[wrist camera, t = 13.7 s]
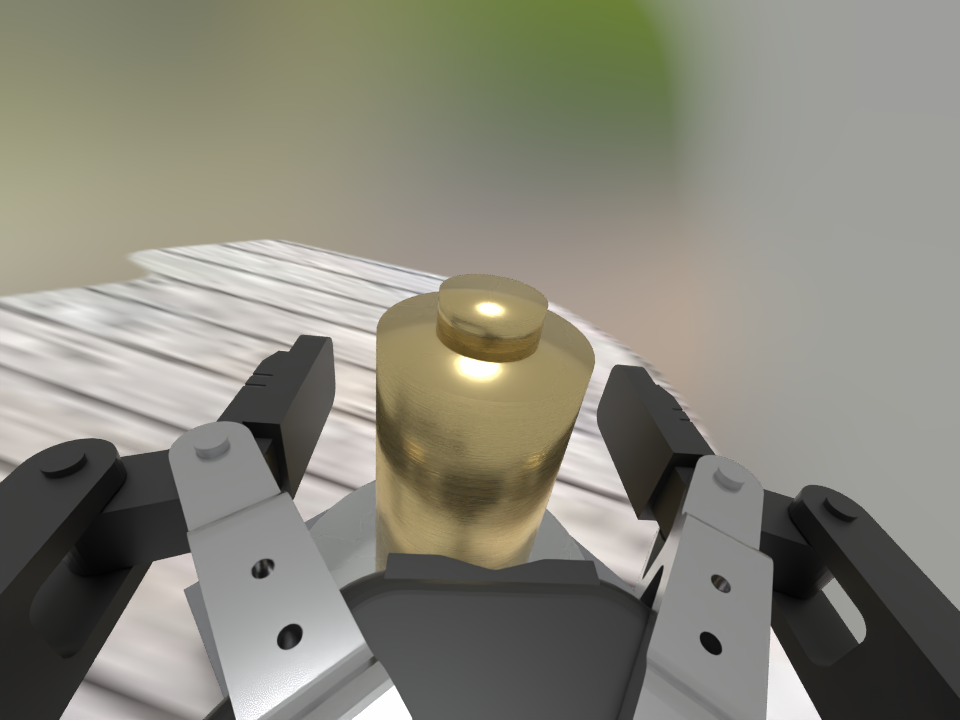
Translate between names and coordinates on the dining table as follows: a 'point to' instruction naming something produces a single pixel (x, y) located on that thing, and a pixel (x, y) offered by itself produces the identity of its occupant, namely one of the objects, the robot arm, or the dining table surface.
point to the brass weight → (472, 419)
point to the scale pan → (353, 537)
